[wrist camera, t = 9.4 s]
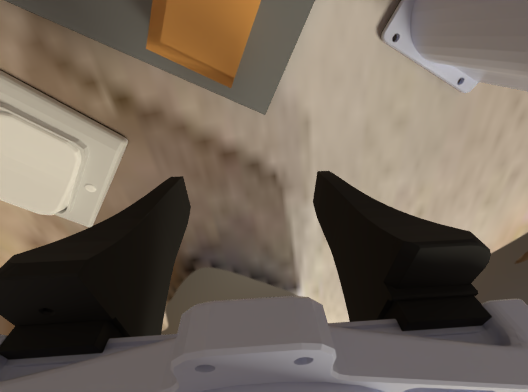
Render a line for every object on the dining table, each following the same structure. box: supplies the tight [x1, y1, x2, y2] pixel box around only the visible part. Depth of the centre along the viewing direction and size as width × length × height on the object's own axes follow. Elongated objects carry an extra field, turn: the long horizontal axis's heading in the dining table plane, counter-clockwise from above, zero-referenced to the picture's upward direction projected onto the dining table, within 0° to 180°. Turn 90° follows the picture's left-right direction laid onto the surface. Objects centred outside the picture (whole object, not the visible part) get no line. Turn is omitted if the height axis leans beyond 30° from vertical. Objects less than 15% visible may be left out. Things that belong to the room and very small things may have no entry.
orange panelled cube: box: [146, 0, 261, 88], centre depth 13 cm, size 5×5×4 cm
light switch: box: [0, 70, 128, 227], centre depth 20 cm, size 11×4×13 cm
